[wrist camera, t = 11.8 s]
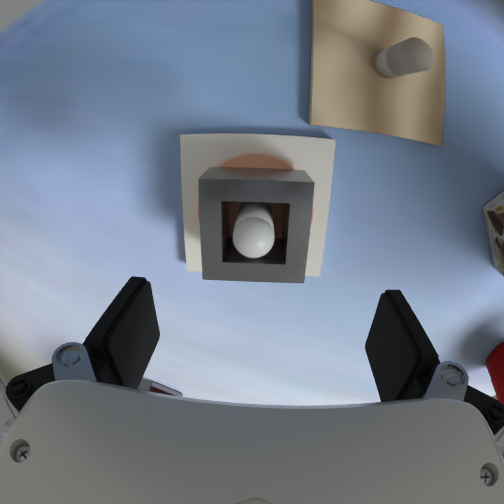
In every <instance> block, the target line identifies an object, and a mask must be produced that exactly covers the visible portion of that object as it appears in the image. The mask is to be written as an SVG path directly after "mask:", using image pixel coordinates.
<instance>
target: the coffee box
mask: <svg viewBox="0 0 504 504" xmlns="http://www.w3.org/2000/svg"><path fill="white" fill-rule="evenodd" d="M483 213H484V217H485V221H486V226H487V231H488V236H489V242H490V248H491V254H492V261H493V267H494V268H495V269H496V270H497V271H498V272H499V273H500V274H501V275H502V276H503V277H504V191H503V192H501V193H500V194H499V195H498V196H496V197H495V198H494V199H492V200H491V201H490V202H489V203H487V204H486V205H485V206H484V207H483Z"/></svg>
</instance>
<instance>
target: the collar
mask: <svg viewBox="0 0 504 504" xmlns="http://www.w3.org/2000/svg"><path fill="white" fill-rule="evenodd" d="M314 185H315V182H314V181H313V180H312V179H311V177H310V176H309V175H308V174H307V172H306V171H305V170H294V169H275V168H247V167H210V168H209V169H208V170H207V171H206V172H205V173H204V174H203V175H202V176H201V177H200V178H199V179H198V189H199V219H200V241H201V260H202V276H203V279H205V280H226V281H251V282H280V283H304V279H305V271H306V263H307V255H308V246H309V237H310V228H311V218H312V208H313V197H314ZM229 201H235V202H266V203H284V210H283V225H282V239H279V238H275V239H274V244H273V246H272V248H271V249H270V251H269V252H268V253H267V254H265V255H264V256H261V257H258V258H249V257H246V256H244V255H242V254H241V253H239V252H238V250H237V249H236V248H235V246H234V243H233V237H229Z"/></svg>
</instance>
